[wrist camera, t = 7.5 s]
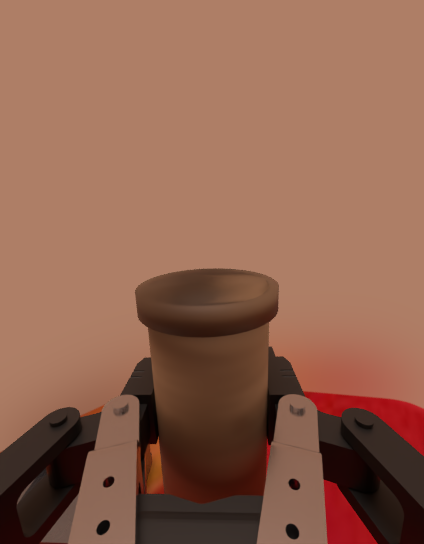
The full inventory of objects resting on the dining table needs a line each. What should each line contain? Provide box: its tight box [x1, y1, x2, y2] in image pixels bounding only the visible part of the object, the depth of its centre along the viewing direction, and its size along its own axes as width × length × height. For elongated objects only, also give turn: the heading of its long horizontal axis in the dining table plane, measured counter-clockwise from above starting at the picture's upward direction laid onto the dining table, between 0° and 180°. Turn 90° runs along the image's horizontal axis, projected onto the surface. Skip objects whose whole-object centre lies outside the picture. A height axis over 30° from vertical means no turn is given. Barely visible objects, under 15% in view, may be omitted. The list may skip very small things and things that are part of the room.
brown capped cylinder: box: [135, 269, 279, 504], centre depth 11 cm, size 5×5×12 cm
